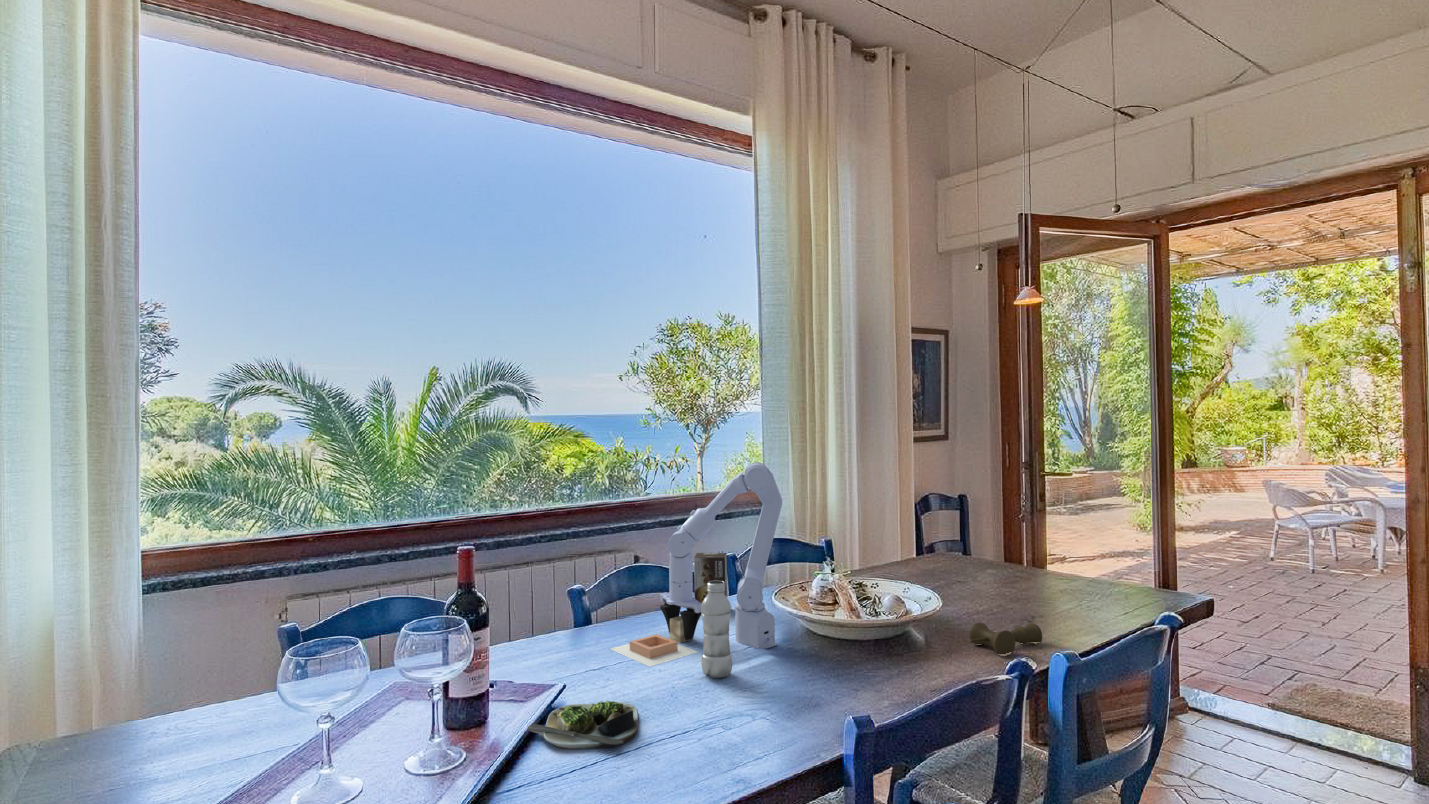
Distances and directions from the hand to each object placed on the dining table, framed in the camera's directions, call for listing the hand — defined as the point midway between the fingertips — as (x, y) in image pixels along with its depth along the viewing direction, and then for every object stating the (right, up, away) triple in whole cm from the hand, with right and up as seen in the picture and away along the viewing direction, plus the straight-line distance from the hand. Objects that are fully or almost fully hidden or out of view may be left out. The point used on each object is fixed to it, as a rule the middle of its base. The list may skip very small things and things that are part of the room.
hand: (681, 636), depth 171 cm
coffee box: (+7, -2, +28) cm, 29 cm away
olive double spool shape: (+77, -2, -5) cm, 77 cm away
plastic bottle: (+9, -1, -22) cm, 23 cm away
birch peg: (0, -2, 0) cm, 2 cm away
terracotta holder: (-6, -1, -8) cm, 10 cm away
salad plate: (-13, -2, -47) cm, 49 cm away
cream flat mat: (-6, -2, -8) cm, 10 cm away
